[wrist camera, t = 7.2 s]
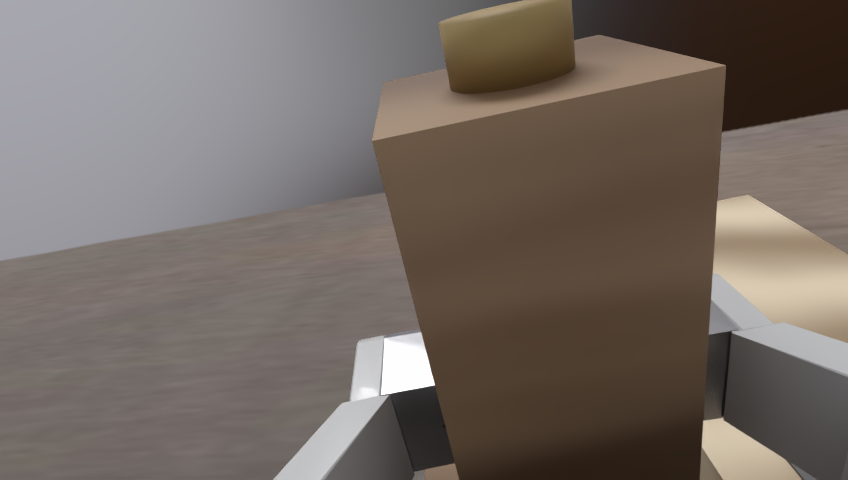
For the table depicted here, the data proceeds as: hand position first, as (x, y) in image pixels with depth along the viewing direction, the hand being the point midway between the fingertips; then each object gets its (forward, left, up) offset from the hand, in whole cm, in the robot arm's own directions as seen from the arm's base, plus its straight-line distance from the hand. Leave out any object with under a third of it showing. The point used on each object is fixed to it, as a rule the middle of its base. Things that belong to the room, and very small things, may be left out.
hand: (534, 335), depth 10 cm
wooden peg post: (0, -1, -7) cm, 7 cm away
